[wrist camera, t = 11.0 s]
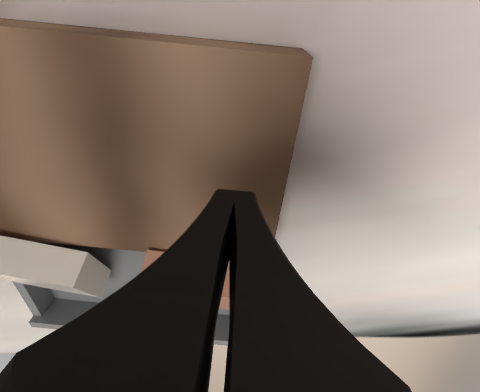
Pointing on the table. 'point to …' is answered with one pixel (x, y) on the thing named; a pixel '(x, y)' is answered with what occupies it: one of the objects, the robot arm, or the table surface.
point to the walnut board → (138, 131)
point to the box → (73, 305)
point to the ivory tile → (52, 267)
